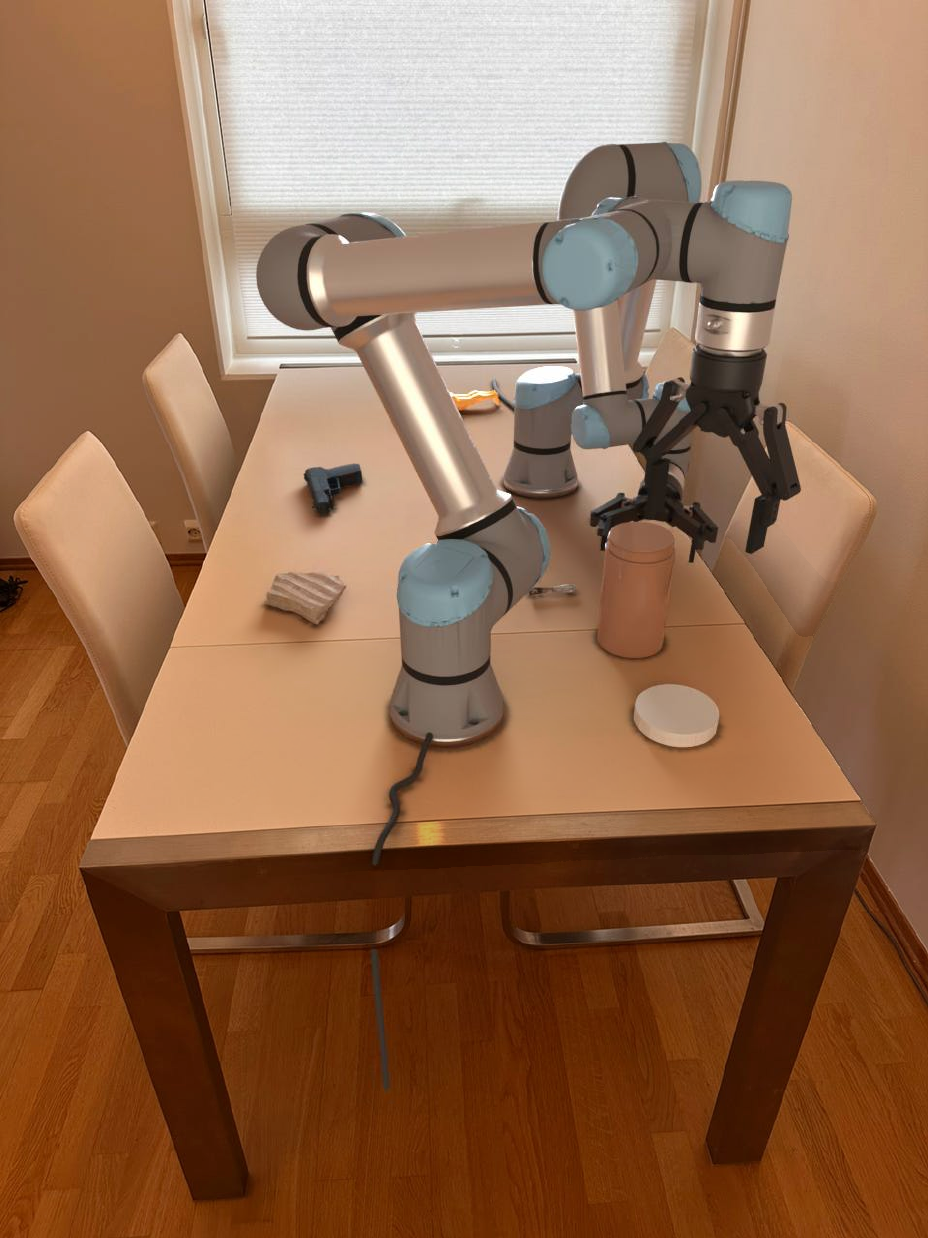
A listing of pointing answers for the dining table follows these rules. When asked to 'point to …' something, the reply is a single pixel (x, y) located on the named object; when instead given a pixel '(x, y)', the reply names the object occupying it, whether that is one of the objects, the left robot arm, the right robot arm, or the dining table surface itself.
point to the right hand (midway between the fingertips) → (647, 549)
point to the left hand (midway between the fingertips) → (702, 530)
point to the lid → (676, 715)
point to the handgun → (330, 484)
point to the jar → (635, 589)
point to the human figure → (473, 398)
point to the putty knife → (554, 589)
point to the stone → (305, 593)
